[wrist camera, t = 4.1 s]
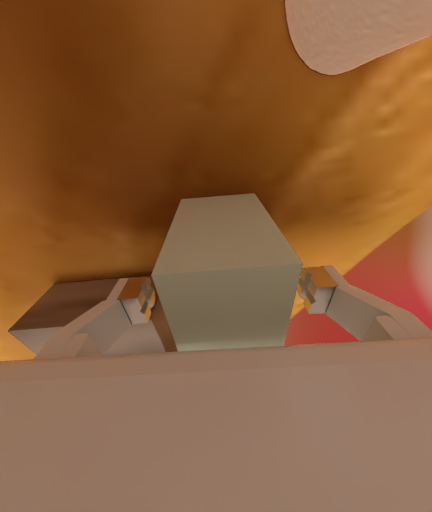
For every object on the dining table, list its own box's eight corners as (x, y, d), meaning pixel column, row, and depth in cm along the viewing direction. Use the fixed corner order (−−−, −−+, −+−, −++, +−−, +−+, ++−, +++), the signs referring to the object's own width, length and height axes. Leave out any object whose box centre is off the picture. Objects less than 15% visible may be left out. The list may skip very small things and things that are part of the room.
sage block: (181, 199, 13) (151, 274, 6) (254, 193, 13) (302, 263, 6) (191, 258, 16) (179, 354, 9) (251, 254, 16) (283, 347, 9)
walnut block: (56, 281, 17) (7, 331, 13) (165, 272, 17) (151, 319, 13) (103, 343, 23) (80, 391, 19) (185, 336, 22) (180, 384, 18)
